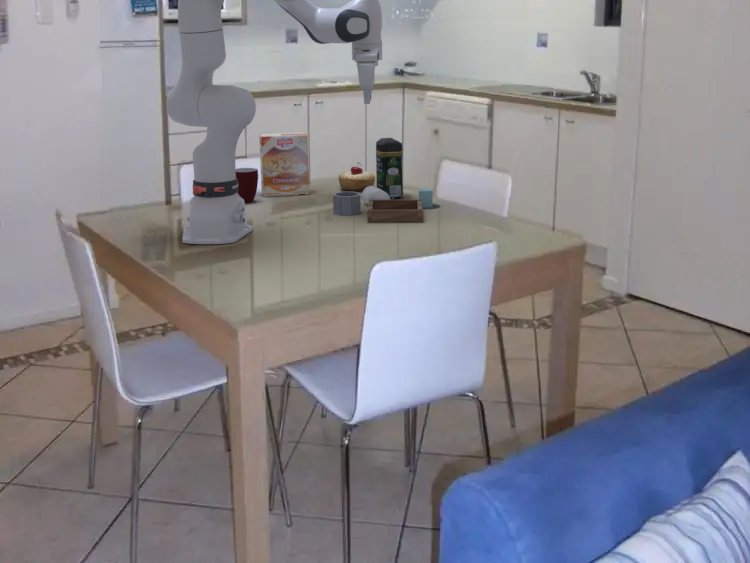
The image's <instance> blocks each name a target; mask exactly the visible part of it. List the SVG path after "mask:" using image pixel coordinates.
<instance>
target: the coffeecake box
mask: <svg viewBox="0 0 750 563" xmlns="http://www.w3.org/2000/svg"><path fill="white" fill-rule="evenodd" d="M258 138H259V155H260V156H259V157H260V158H259V159H260V180H261V183H260V184H261V185H260V186H261V194H262V196H263V197H265V198H267V197H281V196H282V197H283V196H286V197H287V196H300V195H299V194H306V195H310V176H309V175H310V174H309V173H310V172H309V144H308V143H309V140H308V134H307V133H306V132H305V131H302V132H278V133H277V132H276V133H259V135H258Z"/></svg>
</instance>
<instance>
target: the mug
mask: <svg viewBox="0 0 750 563" xmlns="http://www.w3.org/2000/svg"><path fill="white" fill-rule="evenodd" d="M235 169H236V178H237V179H238V192H237V193H238V194H239V196H240V197H241V198H242V199H243V200H244V202H245V204H249V203H252V202H254V200H255V198H256V195H257V191H258V184H259V183H258V182H259V171H258V170H259V169H258V168H255V167H240V168H239V167H238V168H235Z"/></svg>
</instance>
